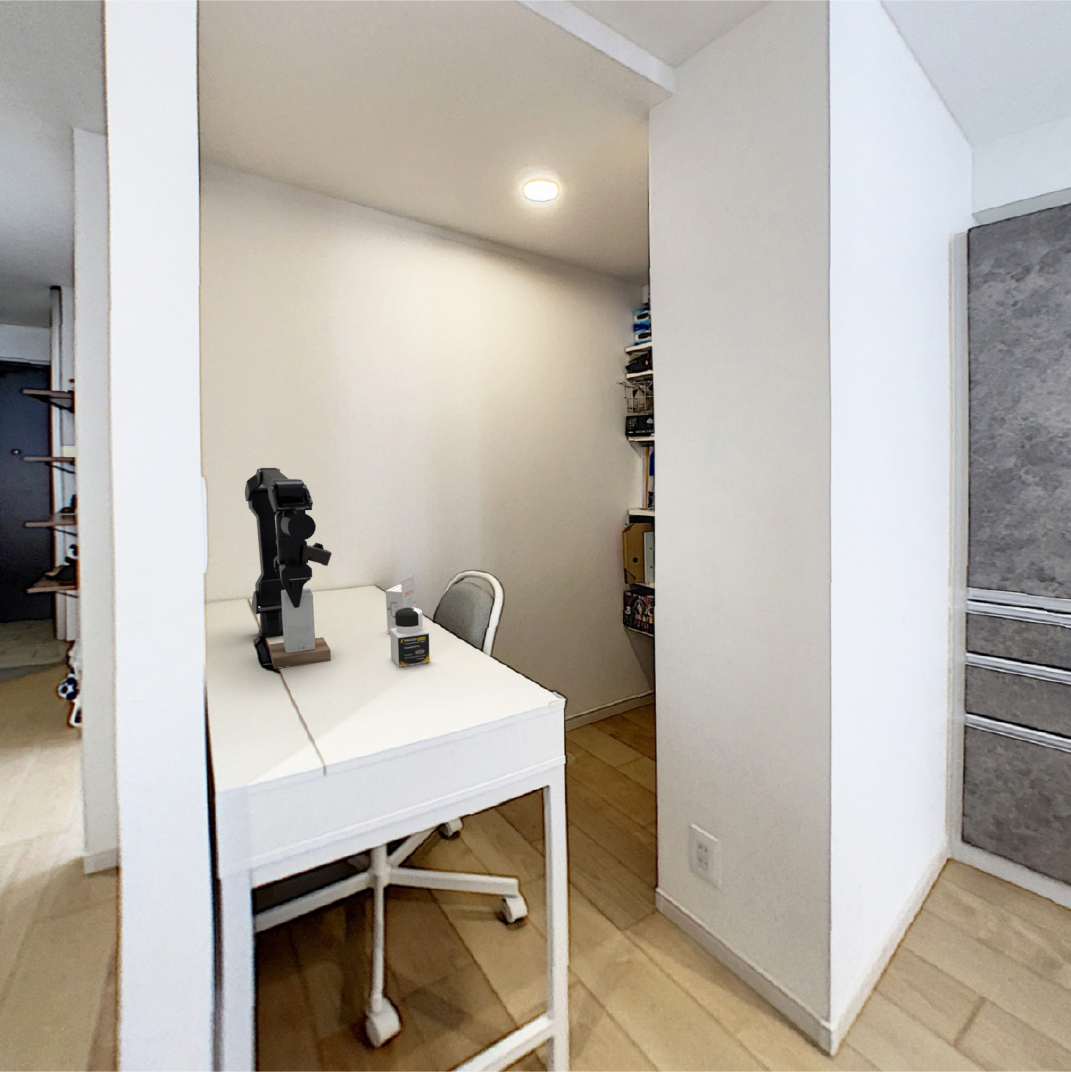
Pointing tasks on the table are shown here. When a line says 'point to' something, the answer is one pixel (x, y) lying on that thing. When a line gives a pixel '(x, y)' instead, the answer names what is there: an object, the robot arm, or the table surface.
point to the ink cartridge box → (399, 599)
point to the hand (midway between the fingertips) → (294, 603)
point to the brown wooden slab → (299, 654)
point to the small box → (298, 623)
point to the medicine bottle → (409, 638)
